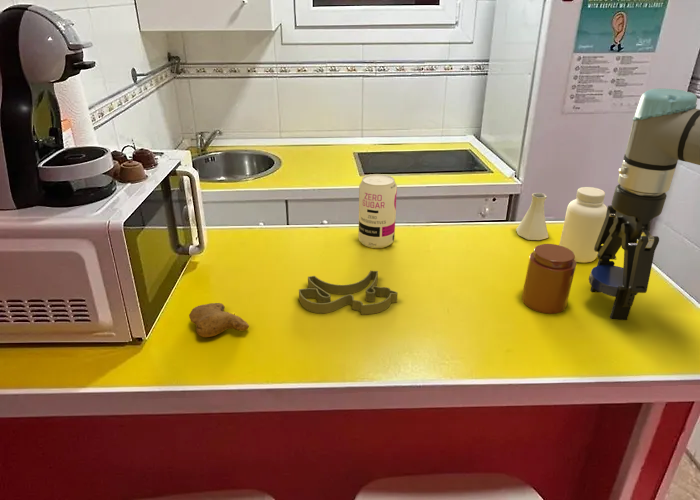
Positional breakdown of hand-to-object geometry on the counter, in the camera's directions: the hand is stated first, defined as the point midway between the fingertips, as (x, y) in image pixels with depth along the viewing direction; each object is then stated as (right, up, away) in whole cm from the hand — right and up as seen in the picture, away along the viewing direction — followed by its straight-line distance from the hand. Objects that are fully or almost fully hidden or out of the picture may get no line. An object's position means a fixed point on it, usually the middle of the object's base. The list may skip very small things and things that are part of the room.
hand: (607, 304), depth 95 cm
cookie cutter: (-48, +1, +3) cm, 48 cm away
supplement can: (-41, +12, +24) cm, 49 cm away
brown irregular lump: (-70, -3, -4) cm, 70 cm away
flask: (-4, +13, +28) cm, 31 cm away
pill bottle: (+3, +9, +19) cm, 21 cm away
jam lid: (0, +5, -3) cm, 6 cm away
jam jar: (-11, 0, +2) cm, 11 cm away
